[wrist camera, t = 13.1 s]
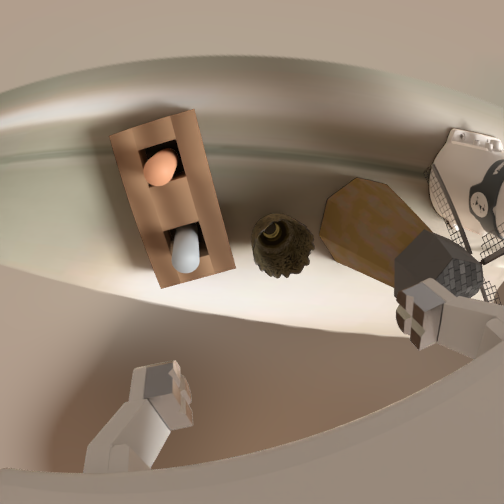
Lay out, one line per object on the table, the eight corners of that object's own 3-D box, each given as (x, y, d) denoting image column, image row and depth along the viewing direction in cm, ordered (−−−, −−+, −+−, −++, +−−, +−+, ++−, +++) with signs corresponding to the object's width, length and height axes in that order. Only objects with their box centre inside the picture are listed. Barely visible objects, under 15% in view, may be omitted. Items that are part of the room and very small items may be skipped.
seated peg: (194, 216, 42) (195, 244, 33) (200, 236, 43) (202, 269, 34) (172, 222, 42) (167, 251, 33) (179, 242, 43) (176, 276, 34)
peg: (175, 144, 38) (169, 152, 29) (181, 166, 39) (177, 181, 30) (152, 151, 38) (139, 161, 29) (158, 173, 39) (148, 189, 30)
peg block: (194, 110, 37) (194, 108, 32) (231, 252, 45) (236, 268, 41) (118, 134, 36) (109, 135, 31) (163, 271, 44) (161, 288, 40)
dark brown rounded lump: (252, 196, 42) (265, 212, 35) (302, 209, 44) (323, 228, 37) (236, 246, 45) (246, 272, 38) (285, 257, 47) (302, 283, 40)
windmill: (399, 269, 52) (517, 378, 25) (326, 294, 51) (426, 440, 24) (392, 146, 43) (567, 203, 16) (306, 163, 42) (475, 248, 15)
